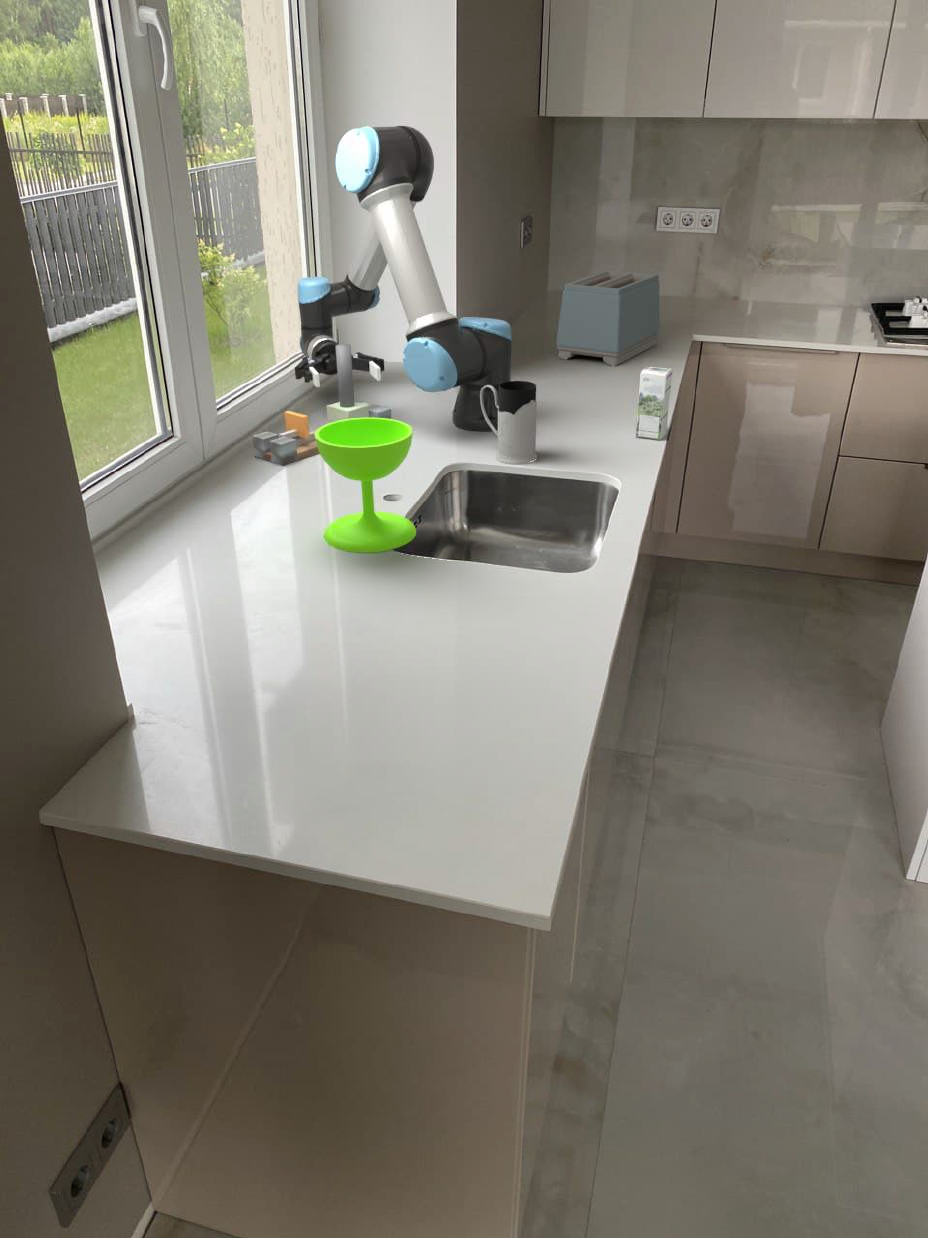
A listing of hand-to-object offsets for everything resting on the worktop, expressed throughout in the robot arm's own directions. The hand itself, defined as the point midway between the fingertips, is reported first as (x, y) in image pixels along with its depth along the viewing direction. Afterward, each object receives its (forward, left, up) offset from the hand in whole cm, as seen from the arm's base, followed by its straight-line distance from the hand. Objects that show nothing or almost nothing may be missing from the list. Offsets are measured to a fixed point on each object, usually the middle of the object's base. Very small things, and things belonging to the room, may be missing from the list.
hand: (348, 377), depth 203 cm
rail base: (+3, +5, -14) cm, 15 cm away
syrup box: (-50, -42, -14) cm, 67 cm away
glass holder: (-33, -13, -14) cm, 38 cm away
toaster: (0, -105, -14) cm, 106 cm away
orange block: (+3, +15, -10) cm, 18 cm away
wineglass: (-40, +34, -14) cm, 55 cm away
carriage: (+3, -2, -10) cm, 11 cm away
